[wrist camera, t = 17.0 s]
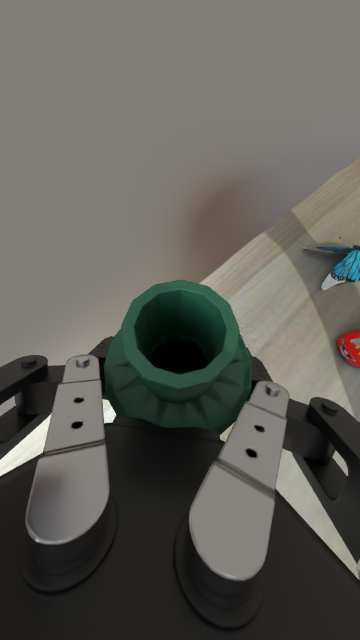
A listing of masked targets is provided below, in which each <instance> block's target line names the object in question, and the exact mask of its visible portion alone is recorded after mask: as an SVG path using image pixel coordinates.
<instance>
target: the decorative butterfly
mask: <svg viewBox="0 0 360 640" xmlns="http://www.w3.org/2000/svg"><path fill="white" fill-rule="evenodd" d="M339 238H340V237H339ZM340 239H341V238H340ZM348 243H349V242H348ZM303 249H312V250H324V251H334V252H342V253H350V254H349V255H348V256H347V257H346V258H345V259H343V260H342V261H341V262H340V263H339V264H338V265H337V266H336V267H335V268H334V269H333V270H332V271H331V272H330V274H329V275H328V276H327V278H326V279H325V280H324V282H323V284H322V286H321V288H322V290H327V289H329V288H330V287H332V286H334V285H336V284H338V283H344V282H346V281H347V279H348V280H349V281H350V282H356V281H359V280H360V246H357V245H354V246H353V248H351V247H307V248H303Z"/></svg>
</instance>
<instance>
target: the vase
mask: <svg viewBox="0 0 360 640" xmlns="http://www.w3.org/2000/svg"><path fill="white" fill-rule="evenodd" d="M104 376H105V388H106V396H107V398H108V400H109V402H110V404H111V406H112V407H113V409H114V411H115V413H116V415H122V416H128V417H135V418H141V419H144V420H146V421H149V422H151V423H154V424H157V425H159V426H162V427H165V428H179V427H198V428H204V429H210V430H217V431H219V436H220V435H221V434H222V433H223V432H224V431H225V430H226V429H227V428H229V427H230V426H231V425H232V424H233V423H234V422H235V421H236V419H237V417H238V415H239V413H240V411H241V409H242V407H243V405H244V403H245V402H246V401H247V399H248V396H249V394H250V392H251V359H250V356H249V354H248V351H247V349H246V346H245V344H244V341H243V339H242V336H241V335H240V333H239V326H238V324H237V321H236V319H235V316H234V314H233V312H232V309H231V307H230V304H229V303H228V302H227V301H226V300H224V299H223V298H222V297H221V296H219V295H218V294H217V293H216V292H215V291H213V290H212V289H211V288H210V287H208V286H205V285H201V284H197V283H193V282H189V281H185V280H182V281H181V280H177V281H172V282H167V283H161V284H156V285H153V286H152V287H151V288H149V289H148V290H147V291H145V292H144V293H143V294H141V295H140V296H138V297H137V298H136V299H134V300H133V301H132V303H131V305H130V307H129V310H128V312H127V314H126V316H125V318H124V320H123V323H122V325H121V329H120V330H119V332H118V333H117V334H116V335H115V336H114V338H113V340H112V341H111V345H110V348H109V351H108V354H107V357H106V360H105V364H104Z"/></svg>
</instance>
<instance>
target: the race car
mask: <svg viewBox="0 0 360 640" xmlns="http://www.w3.org/2000/svg"><path fill="white" fill-rule="evenodd" d="M337 347H338V351H339V353H340V354H341V356H342V357H343V358H344V359H345V360H346V361H347V362H348V363H349V364H351V365H352V366H354V367H358V368H359V367H360V330H358V331H354V332H350V333H347V334H344V335H342V336H340V337H339V338H338V340H337Z"/></svg>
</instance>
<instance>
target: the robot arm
mask: <svg viewBox="0 0 360 640" xmlns="http://www.w3.org/2000/svg"><path fill="white" fill-rule="evenodd" d="M113 338H114V337H112V336H111V337H108V338H106V339H104V340H103V341H101V342H100V344H98V345H97V346H96V347H95V348H94V349H93V350H92V351H91V352H90V353H89V354H87V355H77V356H74V357H72V358H70V359H68V360H67V362H66V365H61V366H48V360H47V358H46V357H44V356H40V355H30V356H25V357H21V358H18V359H16V360H14V361H12V362H10V363H8V364H6V365H4V366H2V367H0V405H1V404H2V403H4V402H5V401H7V400H8V399H10V398H11V397H13V396H15V403H16V406H14V407H13V408H11V409H10V410H9V411H8V412H6V413H5V414H3V415H2V416H0V459H2V458H3V457H4V456H5V455H6V454H7V453H8V452H9V451H10V450H12V449H13V448H14V447H15V446H16V445H17V444H18V443H19V442H21V441H22V440H23V439H24V438H25V437H26V436H27V435H28V434H30V433H31V432H32V431H33V430H34V429H35V428H36V427H37V426H38V425H40V424H41V423H42V422H43V421H44V420H45V419H46V418H47V417H48V416H49V415H50V414H51V413H52V415H51V419H50V424H49V428H48V433H47V437H46V442H45V446H44V451H43V453H41V454H40V455H38V456H36V457H34V458H32V459H31V460H29V461H27V462H25V463H23V464H22V465H20V466H18V467H16V468H14V469H13V470H11V471H9V472H7V473H5V474H4V475H2V476H0V640H360V423H359V422H358V421H357V420H356V419H355V418H354V417H353V416H351V415H350V414H349V413H348V412H347V411H346V410H345V409H344V408H343V407H341V406H340V405H338V404H337V403H335V402H333V401H330V400H328V399H325V398H320V397H314V398H312V399H311V400H310V402H309V405H306V404H303V403H301V402H298V401H295V400H292V399H290V398H289V393H288V391H287V390H286V389H285V388H284V387H282V386H281V385H279V384H277V383H274V382H273V381H272V379H271V377H270V376H269V374H268V372H267V370H266V368H265V367H264V365H263V363H262V362H261V361H260V360H259V359H258V358H256V357H252V356H251V354H250V352H249V350H248V348H246V349H247V351H248V354H249V356H250V359H251V392H250V394H249V396H248V399H247V401H246V402H245V403H244V405H243V407H242V409H241V411H240V413H239V415H238V417H237V419H236V421H235V423H234V426H233V428H232V430H231V432H230V434H229V436H228V438H227V440H226V442H224V441H222V440H220V436H219V431H217V430H210V429H204V428H198V427H179V428H165V427H162V426H159V425H157V424H154V423H151V422H149V421H146V420H144V419H141V418H135V417H128V416H122V415H116V417H115V419H114V421H113V423H104V416H103V402H102V399H105V400H108V398H107V396H106V388H105V376H104V364H105V360H106V357H107V354H108V351H109V348H110V345H111V341H112V340H113ZM282 448H283V449H286V450H288V451H290V452H292V454H293V456H294V458H295V460H296V462H297V463H298V465H299V467H300V468H301V470H302V472H303V474H304V475H305V477H306V479H307V480H308V482H309V484H310V485H311V487H312V489H313V490H314V492H315V494H316V495H317V497H318V499H319V501H320V502H321V504H322V506H323V507H324V509H325V511H326V512H327V514H328V516H329V517H330V519H331V521H332V522H333V524H334V526H335V528H336V529H337V531H338V533H339V534H340V536H341V538H342V539H343V541H344V543H345V544H346V546H347V548H348V549H349V551H350V553H351V555H352V556H353V558H354V560H355V561H356V563H357V573H358V578H359V579H358V578H357V577H356V576H355V575H354V574H353V573H352V572H351V571H350V570H349V569H348V567H347V566H346V565H345V564H344V563H343V562H342V561H341V560H340V559H339V558H338V556H337V555H336V554H335V553H334V552H333V551H332V550H331V549H330V548H329V547H328V546H327V544H326V543H325V542H324V541H323V540H322V539H321V538H320V537H319V536H318V535H317V534H316V532H315V531H314V530H313V529H312V528H311V527H310V526H309V525H308V524H307V523H306V521H305V520H304V519H303V518H302V517H301V516H300V515H299V514H298V513H297V512H296V511H295V509H294V508H293V507H292V506H291V505H290V504H289V503H288V502H287V501H286V500H285V499H284V497H283V496H282V495H281V494H280V493H279V492H278V491H277V490H276V489H275V487H276V482H277V476H278V470H279V464H280V458H281V452H282ZM335 450H336V451H337V452H338V453H339V454H340V455H341V457H342V458H343V459H344V461H345V462H346V464H347V467H348V477H347V476H346V474H345V473H344V472H343V470H342V469H341V468H340V467H339V465H338V464H337V463H336V461H335V460H334V459H333V458H332V457H333V455H334V452H335Z"/></svg>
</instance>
